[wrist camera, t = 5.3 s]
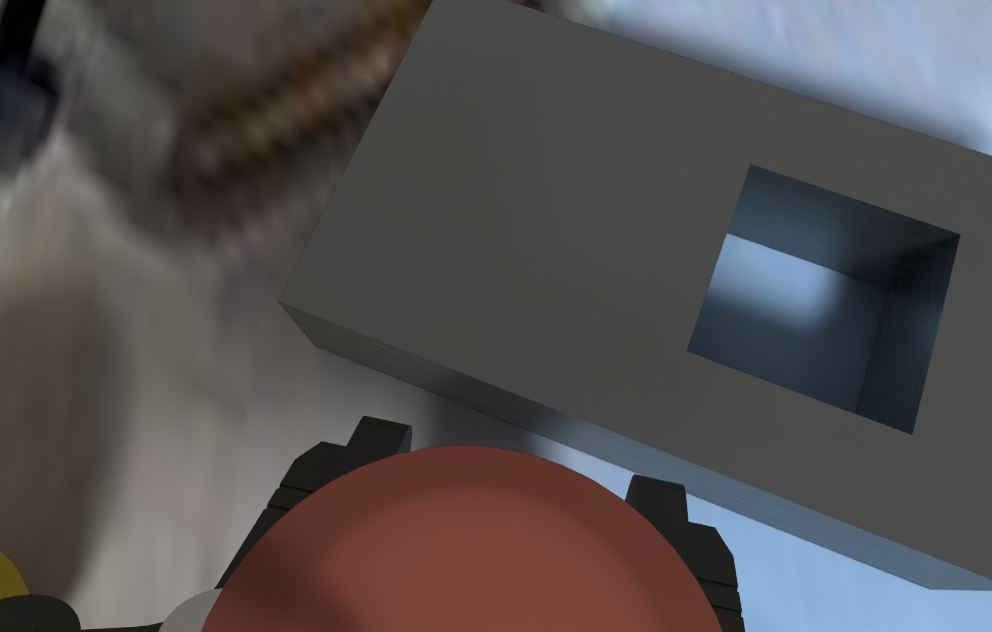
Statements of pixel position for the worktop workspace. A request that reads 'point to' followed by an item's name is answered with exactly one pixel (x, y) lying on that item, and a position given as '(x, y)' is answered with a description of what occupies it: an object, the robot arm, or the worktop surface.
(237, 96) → the worktop surface
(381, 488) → the pin
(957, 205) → the grey block with hole
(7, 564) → the lemon
